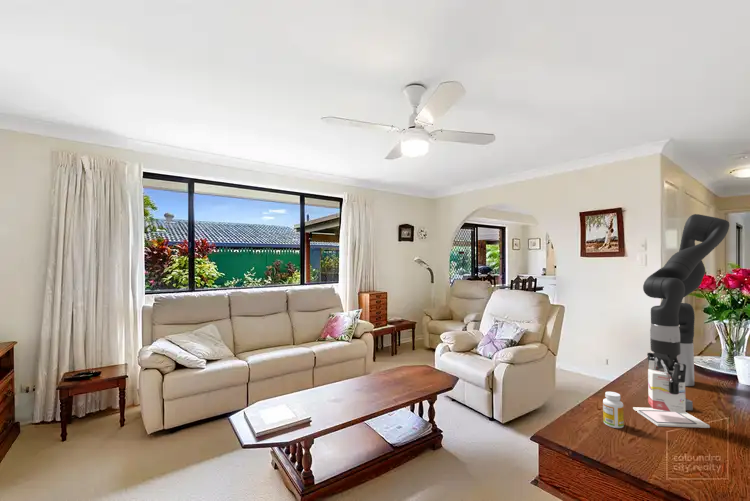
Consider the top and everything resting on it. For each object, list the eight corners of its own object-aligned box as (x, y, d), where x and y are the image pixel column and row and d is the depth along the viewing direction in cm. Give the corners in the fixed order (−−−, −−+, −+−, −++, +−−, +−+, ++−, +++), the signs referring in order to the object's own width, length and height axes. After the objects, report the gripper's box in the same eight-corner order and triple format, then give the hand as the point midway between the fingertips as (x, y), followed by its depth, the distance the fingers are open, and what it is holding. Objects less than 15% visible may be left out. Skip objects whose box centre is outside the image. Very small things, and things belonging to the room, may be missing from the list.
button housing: (656, 401, 126) (656, 393, 126) (677, 401, 126) (676, 393, 126) (670, 409, 119) (670, 400, 119) (692, 410, 119) (692, 401, 119)
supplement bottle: (620, 421, 111) (619, 391, 111) (626, 429, 106) (625, 398, 106) (601, 419, 113) (600, 389, 113) (606, 427, 108) (605, 395, 108)
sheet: (633, 409, 120) (632, 406, 120) (679, 410, 119) (679, 407, 119) (657, 426, 108) (657, 423, 108) (709, 427, 107) (709, 424, 107)
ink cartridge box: (652, 409, 112) (651, 363, 112) (648, 403, 117) (646, 359, 117) (686, 414, 108) (685, 367, 109) (680, 407, 113) (679, 362, 113)
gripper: (638, 333, 120) (639, 381, 120) (669, 343, 106) (670, 398, 106) (661, 333, 120) (662, 382, 119) (695, 344, 105) (697, 399, 105)
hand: (666, 389), depth 113 cm, fingers closed on ink cartridge box, 6 cm apart
